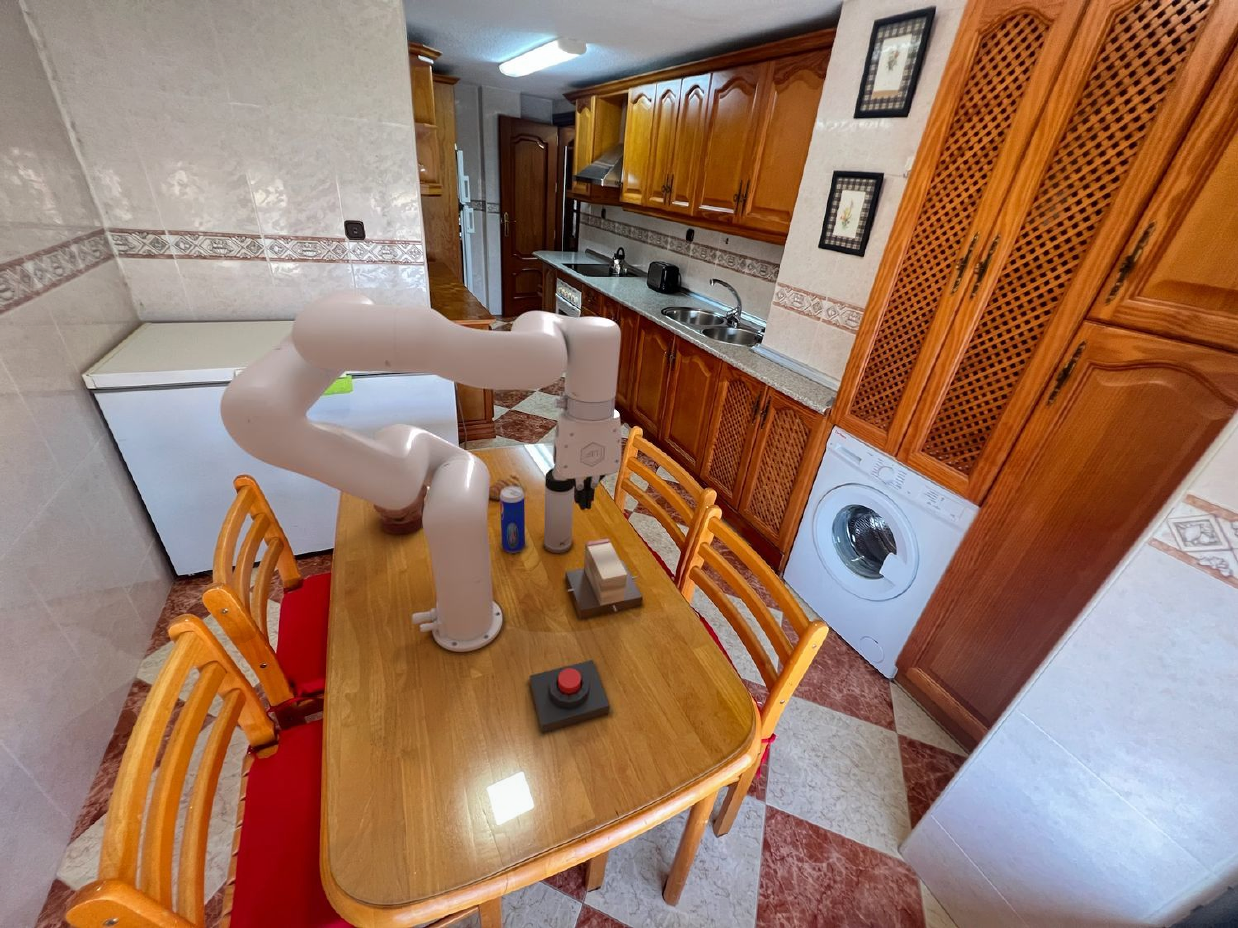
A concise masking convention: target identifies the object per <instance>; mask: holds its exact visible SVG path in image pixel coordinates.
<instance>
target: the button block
mask: <svg viewBox="0 0 1238 928" xmlns="http://www.w3.org/2000/svg"><path fill="white" fill-rule="evenodd" d="M568 668H572V669H575V670H577V671H578V672H579V673H580V675H581V685H580V689H579V690H578V691H577V692H576V693H574V694H572V695H566V694H564V693H562V692H561V691H560V690H559V688H558V677H559V674H560V673H561V672H562V671H563V670H564V669H568ZM529 686H530V690H531V694H532V699H533V702H534V706H535V711H536V716H537V719H538V723H539V727H540V732H541V734H545V733H549V732H552V731H555V730H559V729H562V728H565V727H568V726H573V725H574V724H578V723H581V722H585V721H589V720H591V719H595V718H599V717H602V716H605V715H609V713H610V708H611V707H610V702H609V700H608V697H607V695H606V692H605V689H604V686H603V684H602V680H601V677H600V675H599V673H598V670H597V667H596V664H595V662H594V660H593V659H589V660H586V661H582V662H577V663H573V664H570V665H566V666H562V667H558V668H555V669H551V670H550V669H549V670H546V671H543V672H539V673H535V674H531V675H530V676H529Z"/></svg>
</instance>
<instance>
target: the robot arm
mask: <svg viewBox="0 0 1238 928" xmlns="http://www.w3.org/2000/svg"><path fill="white" fill-rule="evenodd" d="M621 338H622V332H621V328H620V327H619V325H618V324H617V323H616V322H615V321H613V320H611V319H608V318H605V317H601V316H579V317H573V316H569V315H564V314H559V313H553V312H549V311H545V310H530V311H526V312H523V313H522V314H520V315H519V316H518V317H517V318H516V319H515V320H514V321H513V323H512V326H511V329H510V331H507V330H506V331H504V330H503V331H502V330H486V329H479V328H472V327H468V326H465V325H462V324H458V323H456V322H454V321H452V320H450V319H448V318H447V317H445V316H444V315H443V314H441V313H440V312H438V311H437V310H435V309H433V308H431V307H428V306H421V305H399V304H377V303H374V301H373V300H372V299H370V298H369V297H368V296H366V295H364V294H361V293H359V292H356V291H353V290H347V289H339V290H334V291H330V292H328V293H325V294H324V295H322V296H320V297H319V298H317V299H316V300H314V301H313V302H311V303H310V304H308V305H307V306H305V307H304V308H303V309H302V310H300V311H299V313H298V314H297V316H296V317H295V319H294V321H293V324H292V329H291V331H290V332H289V333H288V334H287V335H286V336H285V337H284V338H283V339H282V340H281V341H280V342H279V343H278V344H276V346H274V347H273V348H271V350H269V351H267V352H266V353H265V354H264V355H262V356H260V357H259V358H258V359H256V360H255V361H254V362H252V363H251V364H249V365H248V366H246V367H245V368H244V369H242V370H241V371H240V372H239V373H238V374H236V375H235V376H234V377H233V378H232V380H231V381H230V382H229V383H228V384H227V386H226V388H225V389H224V391H223V393H222V396H221V399H220V405H219V406H220V407H219V409H220V410H219V411H220V412H219V413H220V417H221V421H222V424H223V426H224V428H225V430H226V432H227V434H228V435H229V436H230V438H231V439H232V440H233V441H234V443H236V445H237V446H238V447H239V448H240V449H242V450H243V451H244V452H245V453H247V454H248V455H250V456H252V457H253V458H255V459H257V460H258V461H261V462H263V463H266V464H269V465H270V466H273V467H276V468H279V469H282V470H285V471H288V472H292V473H295V474H298V475H301V476H304V477H306V478H309V479H313V480H314V481H317V482H320V483H322V484H324V485H326V486H328V487H331V488H333V489H335V490H338V491H341V492H343V493H345V494H348V495H351V496H353V497H355V498H357V499H360V500H362V501H365V502H367V503H370V504H372V505H374V504H375V505H377V506H380V507H383V508H386V509H391V510H399V509H403V508H406V507H407V506H409V505H410V504H411V503H412V502H413V501H414V500H415V499H416V497H417V496H418V494H419V492H420V489H421V487H422V484H423V485H426V486H427V488H428V490H427V494H426V496H425V500H424V504H425V505H424V509H423V517H422V523H423V525H422V529H423V533H424V536H425V540H426V542H427V546H428V551H429V556H430V561H431V566H432V567H431V568H432V574H433V581H434V586H435V587H434V588H435V594H436V595H435V596H436V603H435V606H436V607H434V608H431V609H430V610H429V611H425V612H423V611H421V612H415V613H412V624H413V626H415V625H418V624H419V628H420V629H419V631H420V633H425V632H426V633H427V632H430V631H431V633H432V636H433V639H434V640H435V642H436V643H437V644H438V645H439V646H440V647H441V648H443V649H446V650H448V651H452V652H456V653H457V652H459V653H462V652H463V653H464V652H471V651H475V650H478V649H481V648H483V647H485V646H486V645H488V644H490V643H491V642H492V641H493V640H494V639H495V638H496V637H497V636H498V635H499V633H500V631H501V629H502V626H503V613H502V610H501V607H500V606H499V605H498V604H497V603H496V602H495V601H494V598H493V596H494V595H493V582H492V566H491V551H490V550H491V549H490V540H489V532H488V531H489V530H488V512H489V511H488V510H489V508H488V507H489V502H490V501H489V499H490V498H489V489H490V487H491V474H490V471H489V468H488V466H487V465H486V463H485V462H484V461H483V460H482V459H480V458H479V457H478V456H476V454H473V453H471V452H470V451H468V450H466V449H463V448H462V447H460V446H458V445H456V444H454V443H452V442H450V441H448V440H445V439H444V438H441V437H440V436H438V435H436V434H434V433H432V432H430V431H428V430H425V429H423V428H421V427H418V426H415V425H411V424H405V423H397V424H395V423H394V424H391V425H388V426H387V425H386V426H385V427H383V428H381V429H380V430H379V431H378V432H376V433H375V434H374V435H373V437H372V438H370V437H368V436H365V435H363V434H360V433H358V432H356V431H354V430H353V429H351V428H348V427H346V426H344V425H341V424H337V423H332V422H328V421H319V420H318V421H317V420H313V419H310V418H308V416H307V412H308V411H309V410H310V409H311V408H312V407H313V406H314V405H315V404H316V402H317V401H318V400H319V399H320V398H321V397H322V396H323V395H324V394H325V392H326V391H327V390H329V388H331V386H332V385H334V383H335V382H336V381H338V379H340V377H341V376H343V374H345V372H366V373H367V372H368V373H369V372H370V373H371V372H372V373H373V372H377V373H378V372H379V373H383V372H384V373H411V374H412V373H413V374H414V373H415V374H430V375H434V376H437V377H440V378H441V379H444V380H447V381H451V382H455V383H458V384H461V385H464V386H469V387H472V388H478V389H486V390H502V391H504V390H506V391H507V390H508V391H528V390H529V391H531V390H539V389H544V388H547V387H550V386H552V385H554V384H555V383H557V382H558V381H559V380H560V379H561V378H562V377H563V375H564V390H563V392H562V396H561V397H559V398H554V407H555V408H556V409H559V408H560V410H559V414H558V417H557V421H556V426H555V431H554V437H553V438H554V439H553V447H552V448H553V449H552V463H553V472H552V475H553V477H554V479H555V480H562V481H565V480H567V481H568V482H569V483H571V484H572V485H573V486H574V503H575V504H577V505H578V506H579V509H580V511H585V510H586V509H587V510H591V508H592V502H594V501H595V492H596V491H595V490H596V488H597V487H598V486H599V483H600V482H601V481H603V479H604V478H605V477H607V476H610V475H614V474H617V472H618V471H619V470H620V468H621V465H622V424H621V416H620V413H619V411H617V410H616V408H615V407H616V397H617V395H616V394H617V385H618V375H619V374H618V372H619V362H620V352H621V351H620V350H621V340H622V339H621ZM584 478H585V479H584ZM426 622H428V623H426Z"/></svg>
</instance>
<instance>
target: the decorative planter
mask: <svg viewBox="0 0 1238 928" xmlns="http://www.w3.org/2000/svg"><path fill="white" fill-rule="evenodd" d="M427 494H428V486H426V485H423V484H422V487H421V489H420V492H419V494H418V496H417V497H416V499H415V500H414V501H413V502H412V503H411V504H410V505H409V506H407V507H406V508H403V509H399V510H391V509H386V508H383V507H380V506H377V505H375V504H373V508H374V510H375V512H376V513H378V514H380V516H381V528H382V530H384V531H385V532H387V533H391V534H406V533H410V532H413V531H416V530H418V529H420V528H421V527H423V523H422V517H423V509H424V505H425V499H426V497H427Z"/></svg>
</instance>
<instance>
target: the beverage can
mask: <svg viewBox="0 0 1238 928" xmlns="http://www.w3.org/2000/svg"><path fill="white" fill-rule="evenodd" d="M525 505H526V504H525V493H524V490H522V489H521V488H520V487H517V486H509V487H505V488H504V489H502V491H501V493H500V499H499V512H500V533H501V534H500V535H501V536H500V537H501V548H502V549H503V550H504V551H506V552H507V553H510V554H511V553H512V554H513V553H518V552H521V551H522V550H523V549H524V548H525V547H526V519H525V518H526V514H525V513H526V512H525V507H526V506H525Z"/></svg>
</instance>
